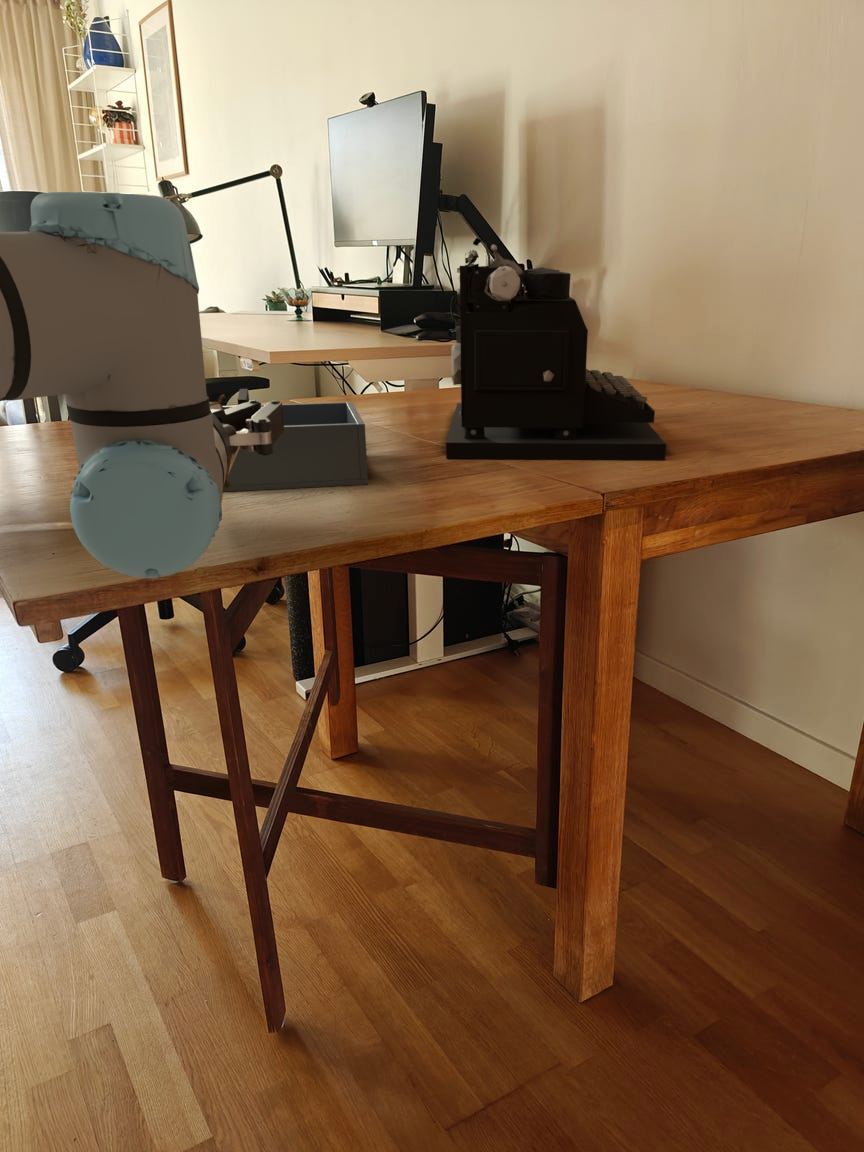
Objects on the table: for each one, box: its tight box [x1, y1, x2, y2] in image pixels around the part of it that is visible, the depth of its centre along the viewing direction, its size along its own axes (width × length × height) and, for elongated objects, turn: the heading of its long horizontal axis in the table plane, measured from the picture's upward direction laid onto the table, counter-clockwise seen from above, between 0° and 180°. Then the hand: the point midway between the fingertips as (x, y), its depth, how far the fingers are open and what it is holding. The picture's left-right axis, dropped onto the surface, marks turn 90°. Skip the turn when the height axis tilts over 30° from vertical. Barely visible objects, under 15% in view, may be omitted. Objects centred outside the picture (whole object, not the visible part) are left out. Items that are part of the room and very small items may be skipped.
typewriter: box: [445, 237, 667, 461], centre depth 116 cm, size 31×27×25 cm
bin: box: [222, 401, 369, 493], centre depth 99 cm, size 17×16×7 cm
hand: (195, 405), depth 79 cm, fingers closed on game die, 8 cm apart
